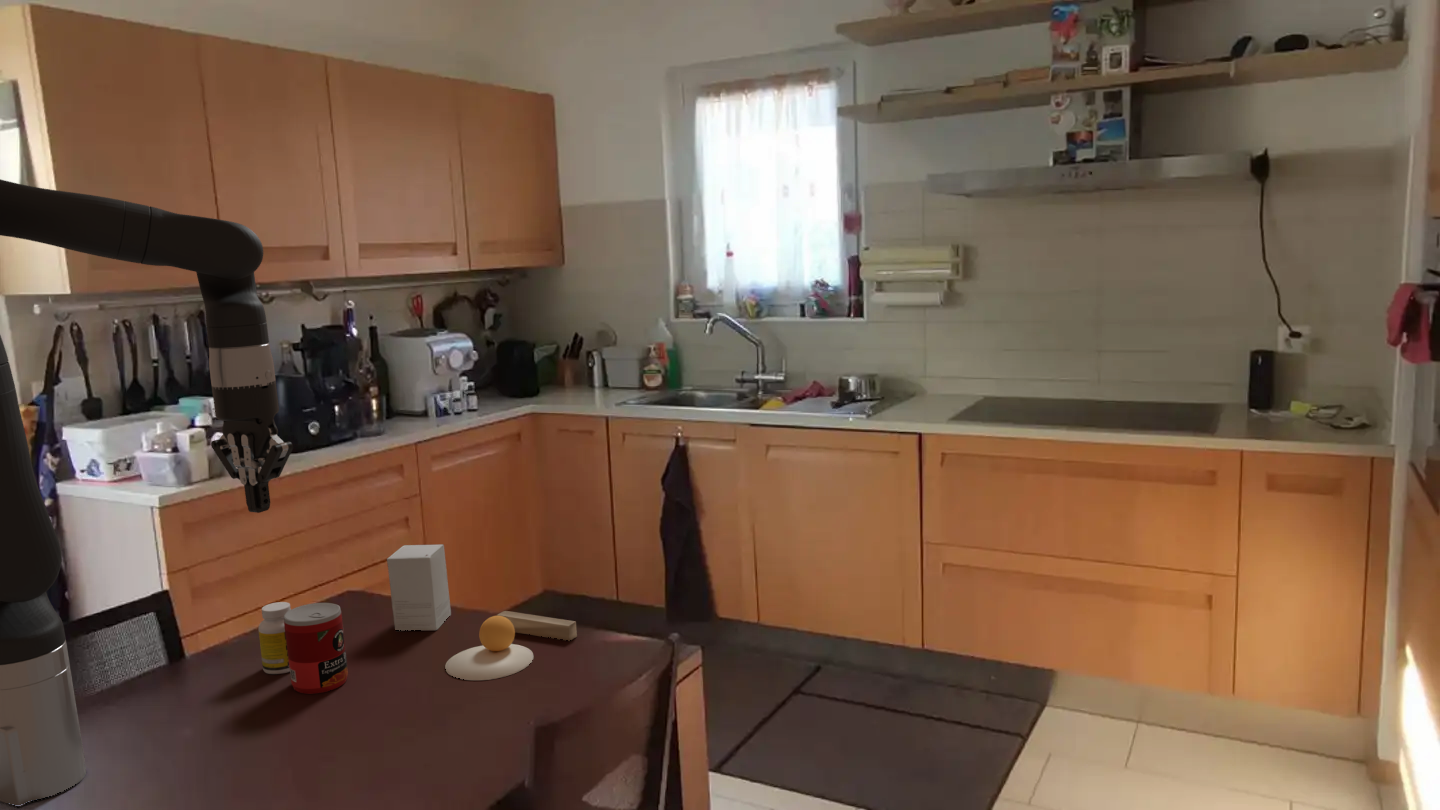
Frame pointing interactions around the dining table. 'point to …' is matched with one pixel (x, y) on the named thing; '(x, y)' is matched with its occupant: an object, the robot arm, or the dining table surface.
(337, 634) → the canned food
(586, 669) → the dining table surface
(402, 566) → the supplement box
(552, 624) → the stopper wall
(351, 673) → the dining table surface
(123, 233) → the robot arm
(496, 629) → the ball
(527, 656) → the disc
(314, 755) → the dining table surface
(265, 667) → the supplement bottle
